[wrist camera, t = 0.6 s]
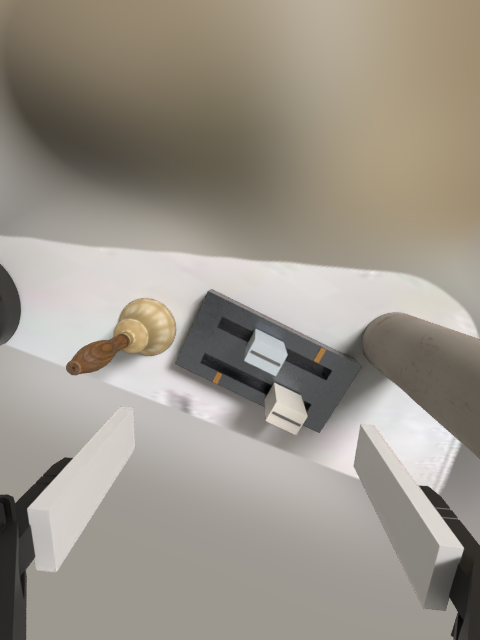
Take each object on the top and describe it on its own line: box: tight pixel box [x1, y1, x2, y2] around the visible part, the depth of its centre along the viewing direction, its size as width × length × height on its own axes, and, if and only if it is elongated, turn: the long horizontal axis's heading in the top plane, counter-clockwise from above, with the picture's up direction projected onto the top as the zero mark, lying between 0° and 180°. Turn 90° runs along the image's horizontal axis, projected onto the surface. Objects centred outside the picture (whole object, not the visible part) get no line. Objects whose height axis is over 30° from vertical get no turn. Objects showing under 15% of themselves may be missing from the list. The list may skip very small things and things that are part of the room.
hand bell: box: [66, 298, 176, 375], centre depth 30 cm, size 8×8×16 cm
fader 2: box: [265, 383, 308, 435], centre depth 34 cm, size 4×3×6 cm
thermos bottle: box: [362, 312, 480, 459], centre depth 22 cm, size 8×8×28 cm
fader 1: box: [244, 329, 288, 376], centre depth 33 cm, size 4×3×7 cm
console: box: [175, 289, 362, 433], centre depth 37 cm, size 22×11×3 cm, turn 64°
